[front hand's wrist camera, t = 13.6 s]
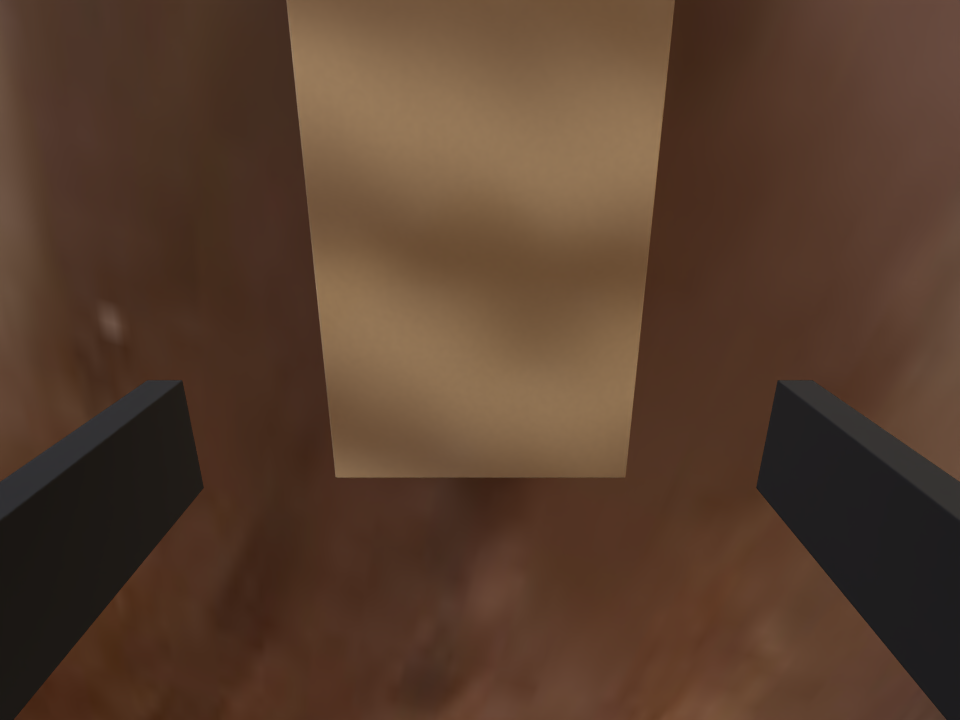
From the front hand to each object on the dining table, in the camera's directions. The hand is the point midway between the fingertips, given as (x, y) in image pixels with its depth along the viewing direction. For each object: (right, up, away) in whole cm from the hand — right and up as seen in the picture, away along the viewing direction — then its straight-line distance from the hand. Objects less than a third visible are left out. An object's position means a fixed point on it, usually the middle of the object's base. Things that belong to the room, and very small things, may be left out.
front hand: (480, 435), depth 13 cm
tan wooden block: (0, +8, +12) cm, 15 cm away
